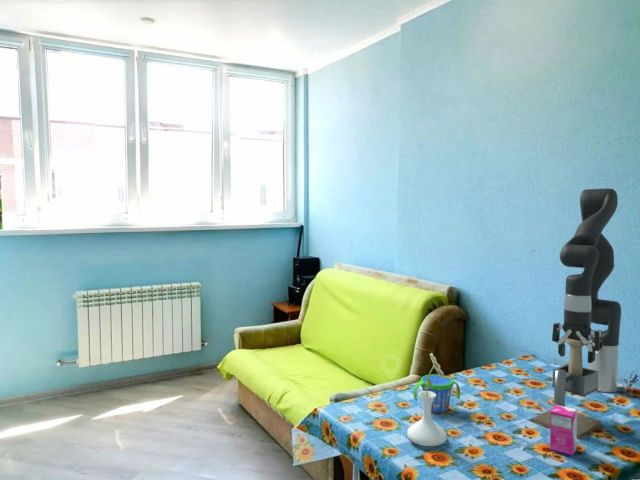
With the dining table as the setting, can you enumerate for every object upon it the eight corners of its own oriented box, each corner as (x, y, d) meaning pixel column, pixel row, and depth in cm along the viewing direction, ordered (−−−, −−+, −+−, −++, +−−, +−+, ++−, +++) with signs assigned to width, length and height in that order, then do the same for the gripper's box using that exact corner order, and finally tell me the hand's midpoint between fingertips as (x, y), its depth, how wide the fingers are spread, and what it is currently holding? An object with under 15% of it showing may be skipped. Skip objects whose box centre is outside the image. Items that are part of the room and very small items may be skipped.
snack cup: (416, 415, 154) (416, 385, 153) (410, 402, 164) (410, 374, 164) (464, 416, 154) (465, 385, 153) (455, 402, 164) (456, 374, 164)
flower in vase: (439, 454, 129) (441, 364, 128) (400, 443, 135) (401, 357, 134) (453, 435, 140) (455, 352, 139) (417, 426, 147) (417, 346, 145)
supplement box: (554, 442, 136) (555, 403, 135) (577, 449, 132) (578, 409, 131) (548, 450, 131) (549, 410, 131) (572, 457, 128) (573, 416, 127)
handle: (589, 386, 149) (590, 339, 148) (575, 389, 146) (576, 342, 146) (575, 381, 154) (576, 336, 153) (561, 384, 151) (562, 338, 150)
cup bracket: (559, 408, 159) (560, 356, 158) (604, 423, 148) (606, 366, 147) (533, 422, 149) (534, 366, 148) (579, 439, 138) (581, 378, 137)
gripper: (607, 310, 145) (605, 362, 146) (560, 303, 156) (559, 351, 157) (596, 314, 141) (594, 367, 142) (549, 306, 152) (547, 356, 153)
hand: (575, 359), depth 149 cm, fingers open, 8 cm apart
